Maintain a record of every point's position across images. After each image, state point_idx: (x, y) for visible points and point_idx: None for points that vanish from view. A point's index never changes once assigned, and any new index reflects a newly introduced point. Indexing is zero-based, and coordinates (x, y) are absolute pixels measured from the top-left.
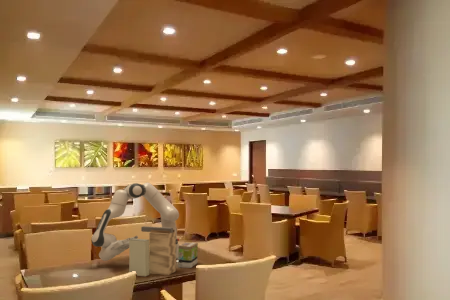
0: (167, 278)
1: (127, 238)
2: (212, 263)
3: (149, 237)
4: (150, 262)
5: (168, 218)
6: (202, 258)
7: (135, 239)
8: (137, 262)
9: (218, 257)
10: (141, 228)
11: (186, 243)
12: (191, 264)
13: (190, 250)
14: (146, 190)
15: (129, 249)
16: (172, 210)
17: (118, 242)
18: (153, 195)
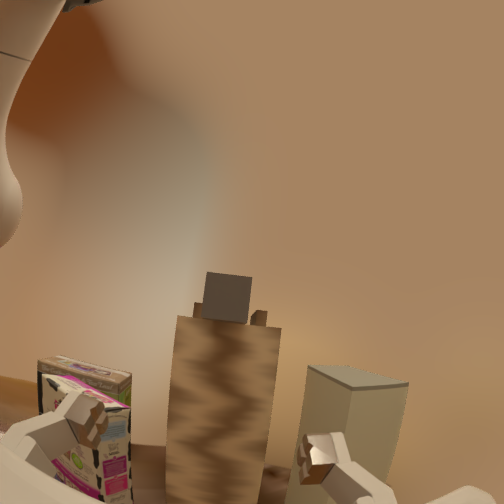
0: (289, 471)
1: (343, 440)
2: None
3: (277, 358)
4: (258, 489)
5: (2, 227)
6: (7, 397)
7: (365, 378)
8: None
9: (15, 381)
10: (249, 292)
11: (69, 365)
12: (130, 432)
13: (130, 388)
14: (57, 7)
15: (391, 458)
16: (21, 192)
17: (472, 494)
18: (31, 56)
